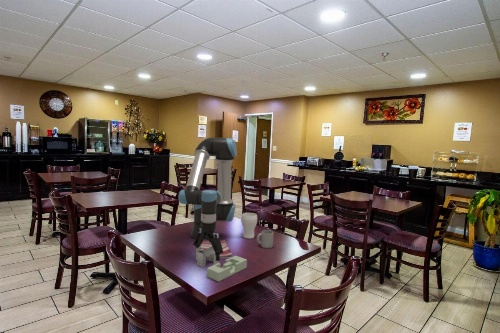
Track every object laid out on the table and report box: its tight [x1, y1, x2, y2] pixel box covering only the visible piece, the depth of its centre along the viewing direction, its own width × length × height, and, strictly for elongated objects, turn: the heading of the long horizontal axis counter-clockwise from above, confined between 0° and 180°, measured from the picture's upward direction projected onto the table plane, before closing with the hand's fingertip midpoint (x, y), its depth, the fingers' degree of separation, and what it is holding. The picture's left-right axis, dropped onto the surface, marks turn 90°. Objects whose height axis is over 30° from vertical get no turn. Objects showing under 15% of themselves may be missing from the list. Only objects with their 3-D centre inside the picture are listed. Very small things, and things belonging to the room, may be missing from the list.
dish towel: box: [199, 239, 233, 260], centre depth 161 cm, size 17×23×3 cm
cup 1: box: [240, 212, 258, 239], centre depth 187 cm, size 11×11×15 cm
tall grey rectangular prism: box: [196, 247, 215, 268], centre depth 143 cm, size 10×4×7 cm, turn 142°
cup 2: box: [256, 229, 275, 249], centre depth 171 cm, size 7×10×9 cm
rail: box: [206, 255, 248, 282], centre depth 134 cm, size 20×7×4 cm, turn 142°
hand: (207, 263), depth 143 cm, fingers open, 12 cm apart
